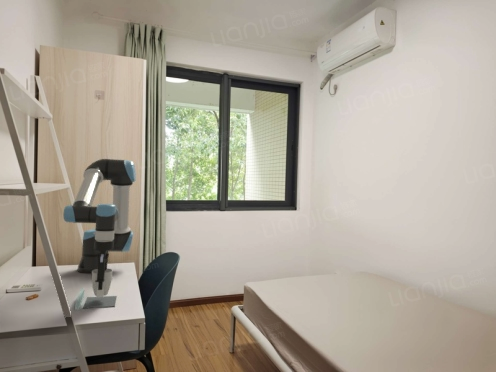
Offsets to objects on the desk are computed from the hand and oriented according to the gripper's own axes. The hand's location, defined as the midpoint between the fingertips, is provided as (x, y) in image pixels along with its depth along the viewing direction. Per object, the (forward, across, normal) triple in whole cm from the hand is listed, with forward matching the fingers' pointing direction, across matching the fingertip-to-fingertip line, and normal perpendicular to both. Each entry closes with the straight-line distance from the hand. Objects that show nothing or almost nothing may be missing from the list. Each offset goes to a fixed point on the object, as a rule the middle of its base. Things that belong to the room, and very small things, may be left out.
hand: (101, 293), depth 136 cm
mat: (+4, 0, 0) cm, 4 cm away
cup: (0, 0, 0) cm, 0 cm away
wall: (+4, 0, -8) cm, 9 cm away
